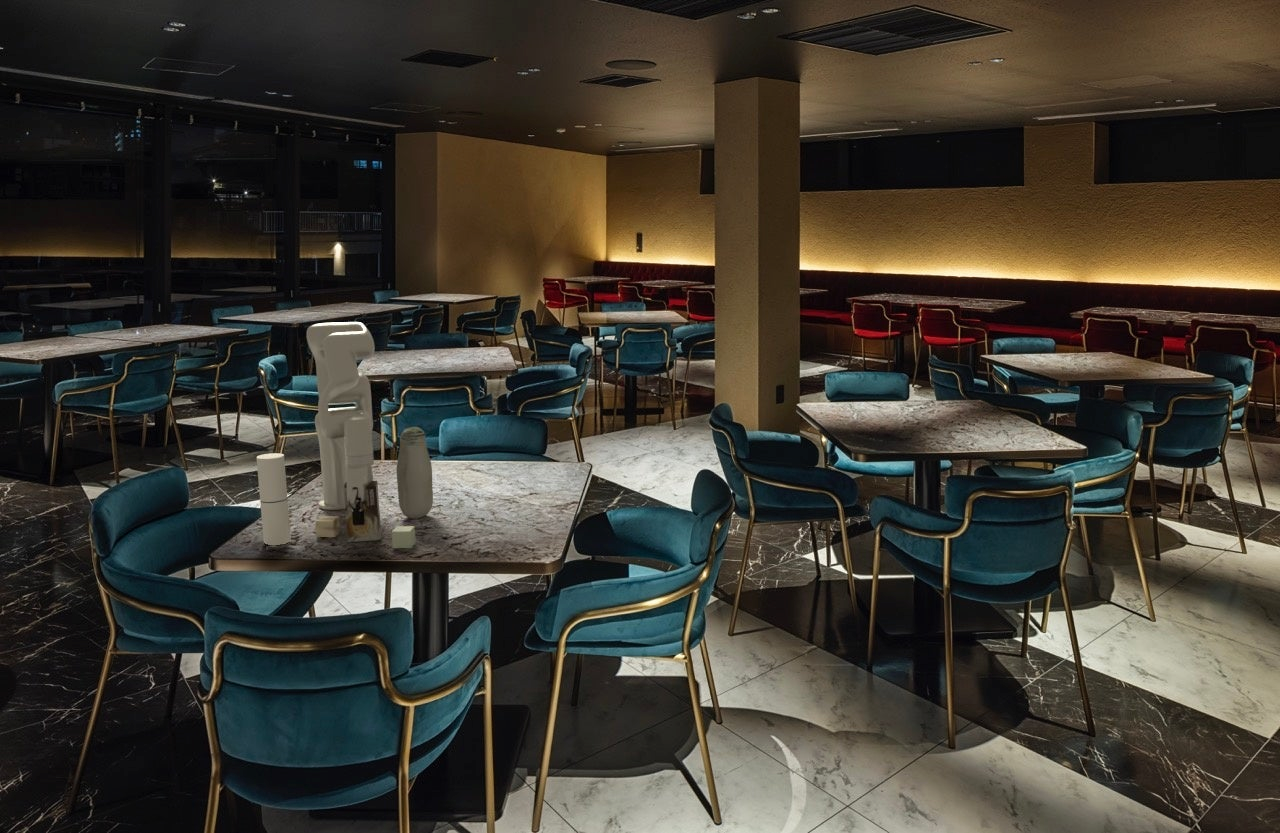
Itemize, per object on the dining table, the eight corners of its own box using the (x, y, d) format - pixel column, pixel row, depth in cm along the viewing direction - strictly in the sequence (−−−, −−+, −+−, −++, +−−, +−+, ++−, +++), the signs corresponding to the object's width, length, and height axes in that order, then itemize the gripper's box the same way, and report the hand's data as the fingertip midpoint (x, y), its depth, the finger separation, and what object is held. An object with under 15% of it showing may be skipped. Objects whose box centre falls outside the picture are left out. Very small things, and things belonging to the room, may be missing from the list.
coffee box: (382, 533, 271) (378, 479, 268) (380, 540, 265) (377, 485, 262) (349, 535, 269) (345, 481, 266) (346, 542, 263) (342, 487, 260)
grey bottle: (425, 522, 282) (420, 431, 277) (394, 521, 284) (388, 430, 279) (439, 513, 292) (434, 425, 287) (408, 512, 294) (403, 424, 289)
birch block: (323, 532, 274) (321, 516, 273) (339, 532, 274) (338, 516, 273) (316, 538, 269) (315, 521, 268) (333, 538, 269) (332, 521, 268)
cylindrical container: (267, 548, 260) (260, 460, 255) (260, 541, 265) (253, 455, 261) (294, 543, 264) (287, 456, 260) (286, 537, 270) (279, 452, 265)
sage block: (397, 543, 263) (396, 526, 262) (415, 543, 263) (414, 526, 262) (392, 548, 258) (391, 531, 257) (410, 548, 258) (409, 531, 257)
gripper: (356, 452, 272) (360, 511, 275) (335, 467, 254) (339, 529, 258) (382, 452, 271) (385, 511, 275) (362, 467, 254) (366, 530, 258)
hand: (363, 520), depth 266 cm, fingers closed on coffee box, 7 cm apart
